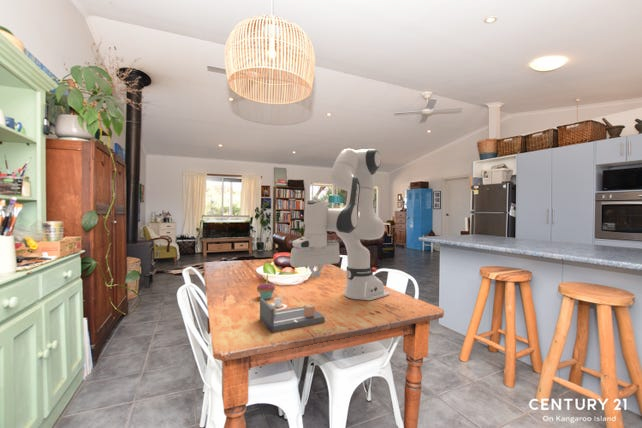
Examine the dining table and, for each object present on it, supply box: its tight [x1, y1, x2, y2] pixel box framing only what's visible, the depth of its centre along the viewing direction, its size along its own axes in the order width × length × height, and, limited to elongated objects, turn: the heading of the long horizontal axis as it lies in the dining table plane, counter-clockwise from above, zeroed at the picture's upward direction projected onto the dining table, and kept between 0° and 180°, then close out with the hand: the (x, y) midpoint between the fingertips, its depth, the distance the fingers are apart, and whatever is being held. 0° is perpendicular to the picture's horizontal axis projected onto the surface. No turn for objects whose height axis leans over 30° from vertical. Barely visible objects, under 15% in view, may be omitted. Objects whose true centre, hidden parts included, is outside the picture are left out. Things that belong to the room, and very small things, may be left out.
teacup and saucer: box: [273, 296, 288, 311], centre depth 126 cm, size 9×8×4 cm
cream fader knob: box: [268, 302, 277, 315], centre depth 110 cm, size 3×3×4 cm
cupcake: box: [256, 273, 276, 300], centre depth 138 cm, size 9×8×12 cm
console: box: [259, 297, 326, 333], centre depth 110 cm, size 21×15×8 cm
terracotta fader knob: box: [303, 303, 316, 317], centre depth 109 cm, size 3×3×4 cm
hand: (315, 276), depth 112 cm, fingers closed
